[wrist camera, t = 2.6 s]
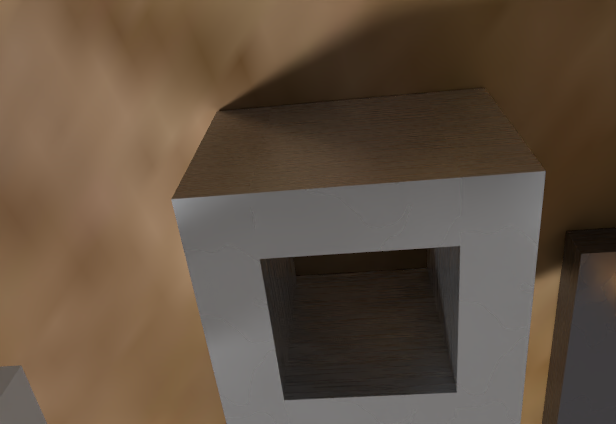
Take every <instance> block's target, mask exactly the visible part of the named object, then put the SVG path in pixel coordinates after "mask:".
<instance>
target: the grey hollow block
mask: <svg viewBox="0 0 616 424" xmlns="http://www.w3.org/2000/svg"><path fill="white" fill-rule="evenodd" d="M545 174H546V171H545V169H544V168H543V167H542V165H541V164H540V162H539V161H538V160H537V158H536V157H535V156H534V154H533V153H532V152H531V150H530V149H529V147H528V146H527V145H526V143H525V142H524V141H523V139H522V138H521V137H520V135H519V134H518V132H517V131H516V130H515V128H514V127H513V126H512V124H511V123H510V122H509V120H508V119H507V117H506V116H505V115H504V113H503V112H502V111H501V109H500V108H499V107H498V105H497V104H496V102H495V101H494V100H493V98H492V97H491V96H490V94H489V93H488V92H487V90H486V89H485V88H476V89H465V90H453V91H442V92H431V93H419V94H408V95H397V96H385V97H374V98H362V99H351V100H340V101H328V102H317V103H306V104H294V105H283V106H272V107H260V108H249V109H238V110H226V111H217V112H216V114H215V116H214V118H213V120H212V122H211V124H210V126H209V128H208V130H207V132H206V134H205V136H204V137H203V139H202V141H201V143H200V145H199V147H198V149H197V151H196V153H195V155H194V157H193V159H192V161H191V163H190V164H189V166H188V168H187V170H186V172H185V174H184V176H183V178H182V180H181V182H180V184H179V186H178V188H177V189H176V191H175V193H174V195H173V197H172V199H171V200H172V204H173V208H174V212H175V216H176V220H177V224H178V228H179V232H180V236H181V240H182V244H183V248H184V252H185V256H186V261H187V265H188V269H189V273H190V277H191V281H192V285H193V289H194V293H195V297H196V301H197V305H198V309H199V313H200V317H201V321H202V325H203V330H204V334H205V338H206V342H207V346H208V350H209V354H210V358H211V362H212V366H213V370H214V374H215V378H216V382H217V386H218V390H219V394H220V399H221V403H222V407H223V411H224V415H225V419H226V423H227V424H520V421H521V411H522V401H523V392H524V382H525V372H526V362H527V352H528V342H529V332H530V322H531V312H532V302H533V293H534V283H535V273H536V263H537V253H538V243H539V233H540V223H541V213H542V203H543V194H544V184H545ZM421 248H427V268H420V269H404V270H388V271H372V272H356V273H340V274H325V275H309V276H296V270H295V263H294V257H299V256H314V255H329V254H344V253H360V252H375V251H390V250H405V249H421Z"/></svg>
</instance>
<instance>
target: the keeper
mask: <svg viewBox="0 0 616 424" xmlns="http://www.w3.org/2000/svg"><path fill="white" fill-rule="evenodd" d="M542 424H616V228H605V229H590V230H575V231H566V238H565V246H564V254H563V262H562V270H561V278H560V285H559V293H558V301H557V309H556V317H555V325H554V333H553V341H552V349H551V357H550V364H549V372H548V380H547V388H546V396H545V404H544V412H543V420H542Z"/></svg>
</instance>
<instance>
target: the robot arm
mask: <svg viewBox="0 0 616 424" xmlns="http://www.w3.org/2000/svg"><path fill="white" fill-rule="evenodd" d="M0 424H47V423H46V420H45V418H44V416H43V414H42V411H41V409H40V407H39V405H38V402H37V400H36V398H35V396H34V393H33V391H32V389H31V387H30V384H29V382H28V380H27V377H26V375H25V373H24V371H23V368H22V366H4V367H0Z"/></svg>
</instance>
